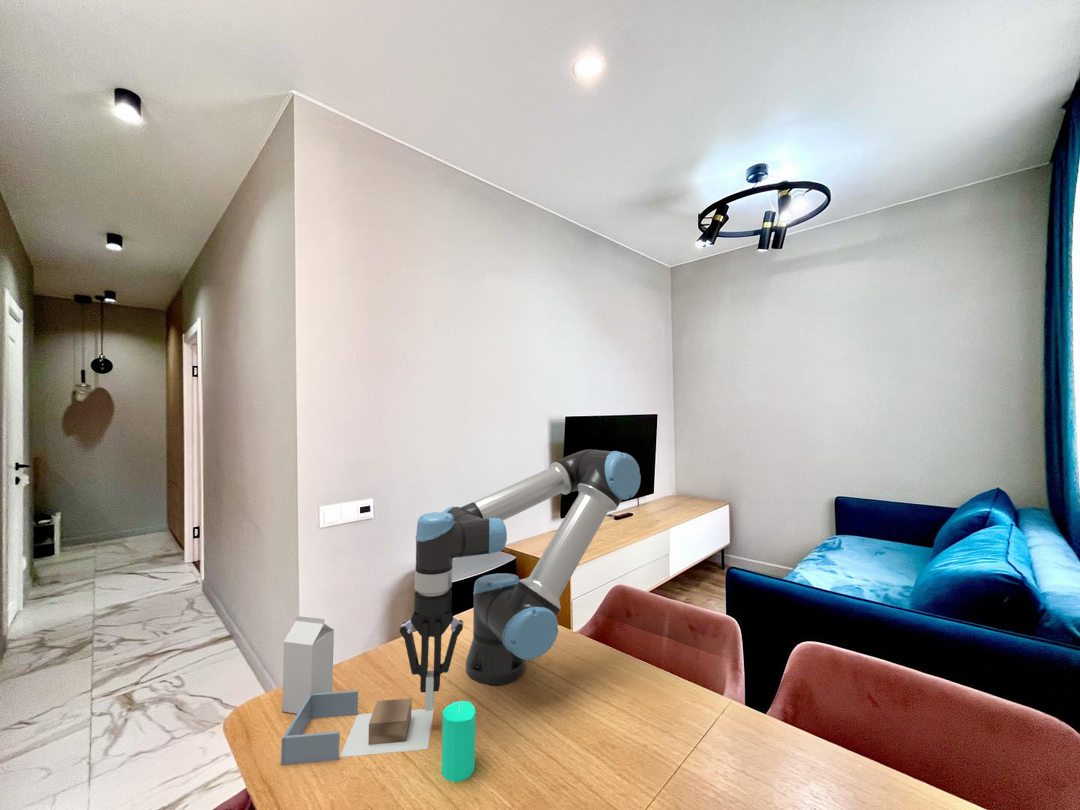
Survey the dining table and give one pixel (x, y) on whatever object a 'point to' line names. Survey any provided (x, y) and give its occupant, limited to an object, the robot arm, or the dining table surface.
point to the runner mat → (414, 741)
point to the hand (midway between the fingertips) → (429, 706)
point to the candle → (458, 741)
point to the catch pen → (317, 744)
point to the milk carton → (307, 662)
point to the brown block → (390, 721)
